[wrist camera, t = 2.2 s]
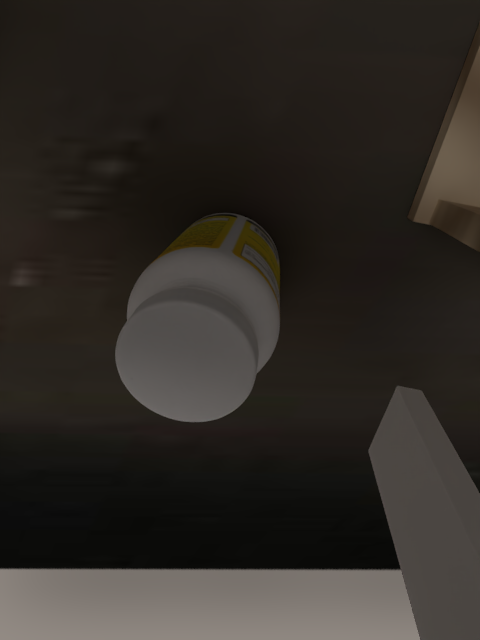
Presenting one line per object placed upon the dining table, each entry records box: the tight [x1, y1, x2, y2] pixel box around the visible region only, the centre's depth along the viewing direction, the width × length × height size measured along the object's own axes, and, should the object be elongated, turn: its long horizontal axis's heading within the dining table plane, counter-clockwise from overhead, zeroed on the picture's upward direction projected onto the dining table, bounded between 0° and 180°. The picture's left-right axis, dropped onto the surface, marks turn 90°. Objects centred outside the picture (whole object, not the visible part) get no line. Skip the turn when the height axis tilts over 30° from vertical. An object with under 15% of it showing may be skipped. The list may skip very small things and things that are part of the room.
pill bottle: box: [115, 213, 280, 422], centre depth 17 cm, size 6×6×11 cm
